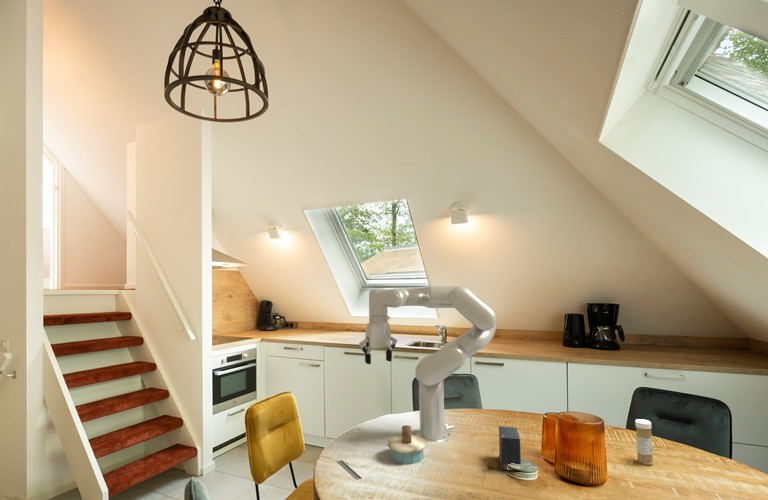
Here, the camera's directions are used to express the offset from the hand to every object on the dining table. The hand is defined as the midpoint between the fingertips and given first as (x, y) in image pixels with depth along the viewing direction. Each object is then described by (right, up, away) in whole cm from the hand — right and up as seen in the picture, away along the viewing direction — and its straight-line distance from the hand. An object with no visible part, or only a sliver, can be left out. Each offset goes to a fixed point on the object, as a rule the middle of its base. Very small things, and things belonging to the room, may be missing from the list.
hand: (378, 362), depth 169 cm
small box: (+44, -26, -30) cm, 59 cm away
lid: (+10, -22, -25) cm, 35 cm away
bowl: (+10, -27, -26) cm, 38 cm away
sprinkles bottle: (+88, -25, -31) cm, 97 cm away
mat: (-4, -26, -30) cm, 40 cm away
